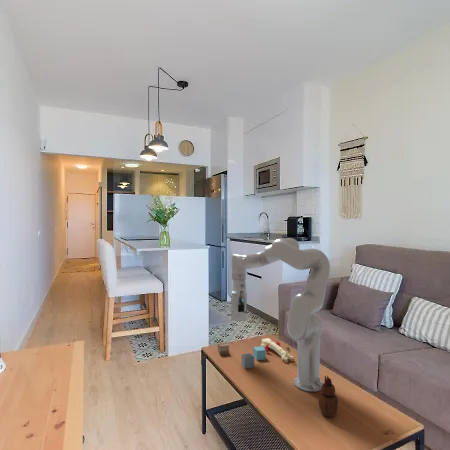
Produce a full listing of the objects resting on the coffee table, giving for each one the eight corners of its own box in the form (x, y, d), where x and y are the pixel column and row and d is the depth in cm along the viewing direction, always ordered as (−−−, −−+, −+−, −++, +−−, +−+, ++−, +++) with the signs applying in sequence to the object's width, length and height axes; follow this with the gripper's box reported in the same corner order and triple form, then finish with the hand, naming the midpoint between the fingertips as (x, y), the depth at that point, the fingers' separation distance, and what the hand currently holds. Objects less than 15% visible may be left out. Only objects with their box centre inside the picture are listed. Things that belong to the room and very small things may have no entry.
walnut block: (228, 354, 167) (228, 345, 167) (220, 355, 166) (220, 346, 166) (226, 350, 172) (226, 341, 172) (217, 351, 171) (217, 342, 171)
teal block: (265, 359, 161) (265, 349, 161) (256, 360, 160) (256, 350, 160) (262, 355, 166) (262, 346, 166) (253, 356, 164) (253, 347, 164)
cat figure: (296, 362, 160) (269, 342, 182) (297, 346, 159) (270, 328, 181) (281, 366, 155) (255, 345, 178) (282, 350, 155) (256, 330, 177)
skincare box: (231, 321, 162) (231, 293, 162) (231, 317, 168) (231, 290, 168) (247, 321, 162) (246, 293, 161) (246, 317, 168) (246, 290, 167)
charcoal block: (254, 367, 152) (254, 357, 152) (244, 368, 151) (244, 358, 151) (250, 363, 157) (250, 353, 157) (241, 364, 155) (241, 354, 155)
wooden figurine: (324, 420, 111) (325, 379, 110) (315, 411, 116) (315, 371, 116) (340, 417, 112) (341, 376, 112) (331, 408, 118) (331, 369, 118)
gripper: (250, 279, 157) (251, 313, 157) (240, 274, 174) (240, 305, 174) (236, 279, 155) (237, 314, 155) (227, 274, 172) (227, 306, 172)
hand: (238, 309), depth 165 cm, fingers closed on skincare box, 7 cm apart
